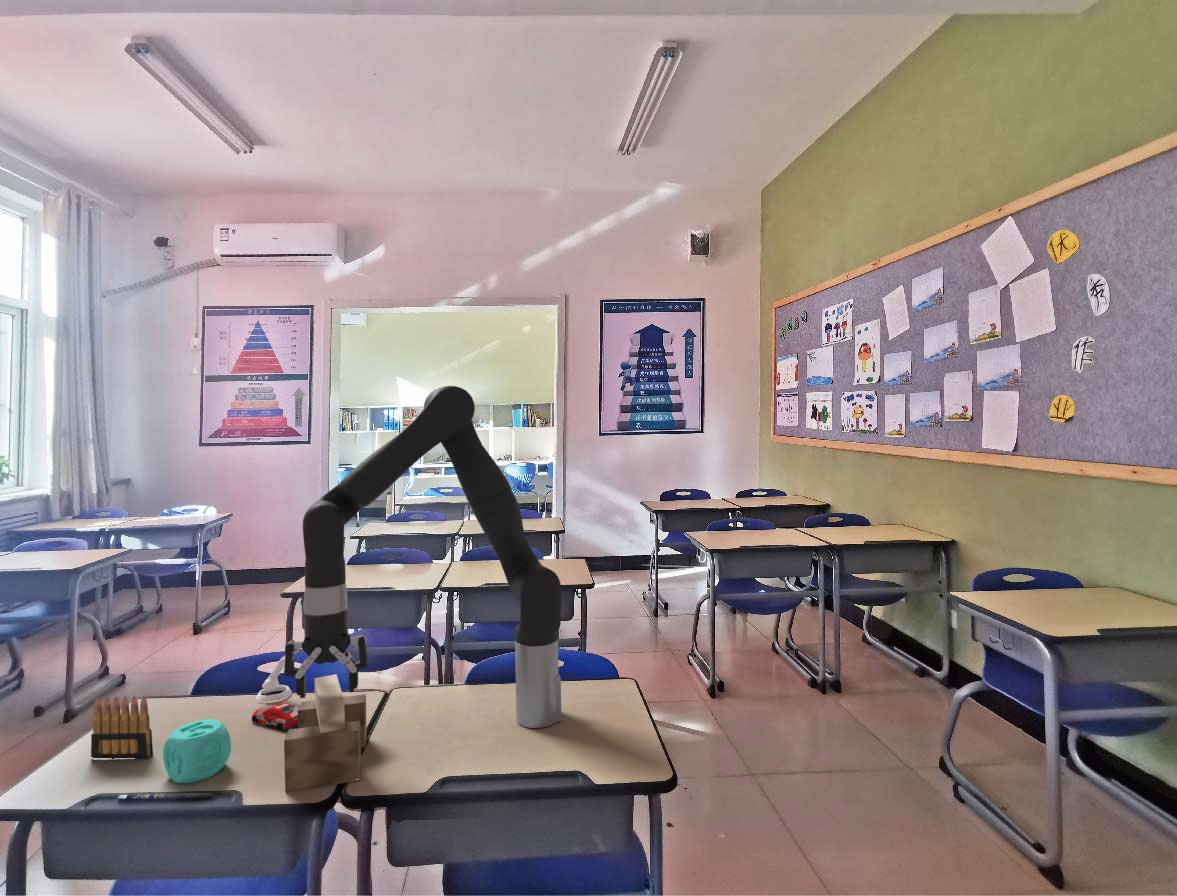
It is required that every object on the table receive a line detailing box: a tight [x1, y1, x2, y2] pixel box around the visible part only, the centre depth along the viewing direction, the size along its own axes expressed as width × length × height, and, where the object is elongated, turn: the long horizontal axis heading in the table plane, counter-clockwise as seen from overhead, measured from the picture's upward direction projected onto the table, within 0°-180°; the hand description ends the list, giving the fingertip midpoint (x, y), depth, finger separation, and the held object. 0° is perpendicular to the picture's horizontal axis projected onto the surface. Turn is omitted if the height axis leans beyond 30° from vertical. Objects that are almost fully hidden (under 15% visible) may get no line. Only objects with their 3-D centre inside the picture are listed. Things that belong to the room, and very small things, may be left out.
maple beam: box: [313, 673, 345, 733], centre depth 114 cm, size 4×14×5 cm, turn 28°
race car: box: [251, 702, 299, 732], centre depth 131 cm, size 13×5×4 cm, turn 64°
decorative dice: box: [162, 718, 232, 784], centre depth 112 cm, size 8×8×8 cm
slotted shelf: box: [283, 694, 368, 793], centre depth 114 cm, size 12×16×9 cm
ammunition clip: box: [90, 695, 154, 760], centre depth 117 cm, size 11×2×12 cm, turn 91°
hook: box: [255, 655, 293, 702], centre depth 144 cm, size 8×12×7 cm
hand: (327, 693), depth 114 cm, fingers open, 8 cm apart
